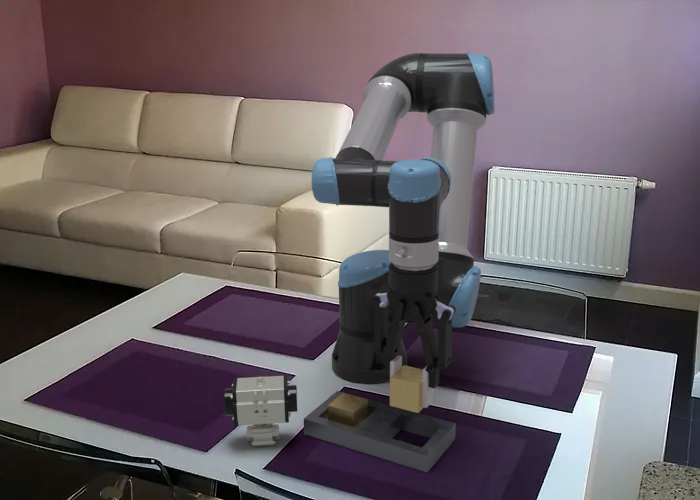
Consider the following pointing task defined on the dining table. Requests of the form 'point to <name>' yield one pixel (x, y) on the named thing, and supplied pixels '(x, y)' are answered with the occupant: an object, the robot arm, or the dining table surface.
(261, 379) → the pneumatic valve
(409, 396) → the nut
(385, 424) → the tray
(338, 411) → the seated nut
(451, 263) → the robot arm
